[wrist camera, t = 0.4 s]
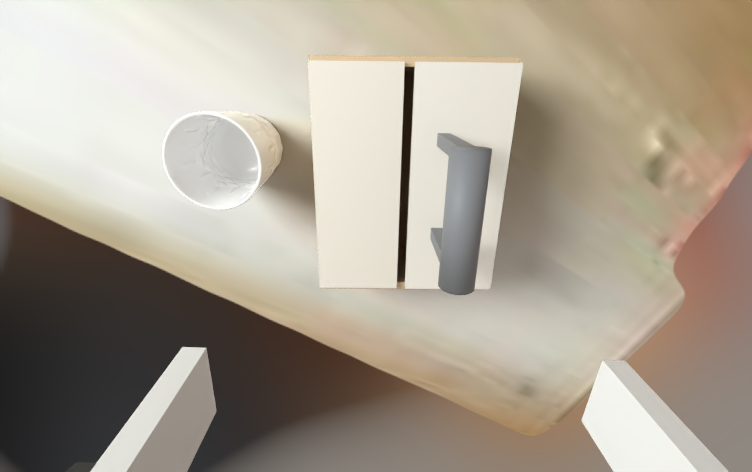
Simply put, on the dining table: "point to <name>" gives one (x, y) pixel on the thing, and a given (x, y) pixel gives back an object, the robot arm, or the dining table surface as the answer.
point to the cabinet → (364, 164)
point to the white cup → (220, 157)
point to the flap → (458, 172)
